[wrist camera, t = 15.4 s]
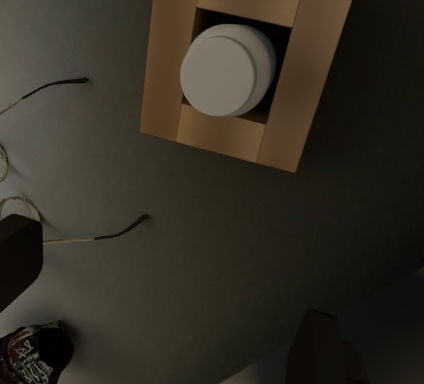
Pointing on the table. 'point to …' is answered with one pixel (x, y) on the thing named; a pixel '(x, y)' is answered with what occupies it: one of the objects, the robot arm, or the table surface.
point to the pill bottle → (228, 70)
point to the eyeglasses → (34, 212)
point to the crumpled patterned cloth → (35, 354)
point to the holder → (253, 119)
